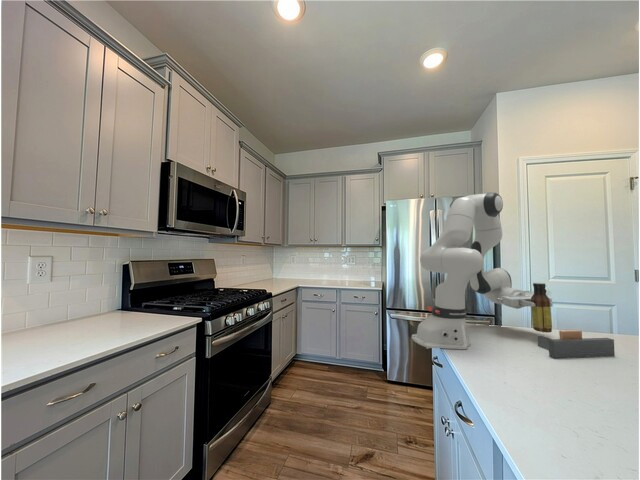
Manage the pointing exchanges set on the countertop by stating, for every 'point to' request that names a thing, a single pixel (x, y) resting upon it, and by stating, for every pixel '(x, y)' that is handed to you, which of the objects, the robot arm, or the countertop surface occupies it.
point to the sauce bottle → (541, 309)
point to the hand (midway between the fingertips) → (542, 304)
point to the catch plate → (570, 334)
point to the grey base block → (577, 347)
